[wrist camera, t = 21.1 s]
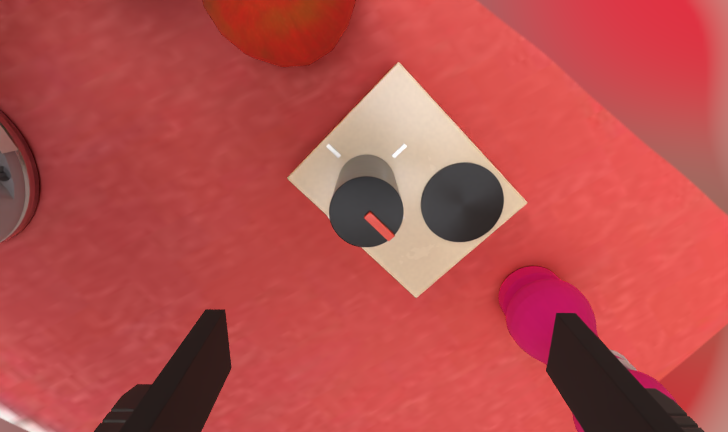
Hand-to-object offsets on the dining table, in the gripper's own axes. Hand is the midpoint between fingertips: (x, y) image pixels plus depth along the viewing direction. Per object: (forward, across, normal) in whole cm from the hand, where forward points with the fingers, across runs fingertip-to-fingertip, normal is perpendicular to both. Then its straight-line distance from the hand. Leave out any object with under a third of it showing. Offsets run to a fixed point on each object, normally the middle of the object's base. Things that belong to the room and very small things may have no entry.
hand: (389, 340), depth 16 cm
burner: (+19, +7, 0) cm, 21 cm away
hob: (+22, +3, +1) cm, 23 cm away
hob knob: (+19, -1, +2) cm, 19 cm away
